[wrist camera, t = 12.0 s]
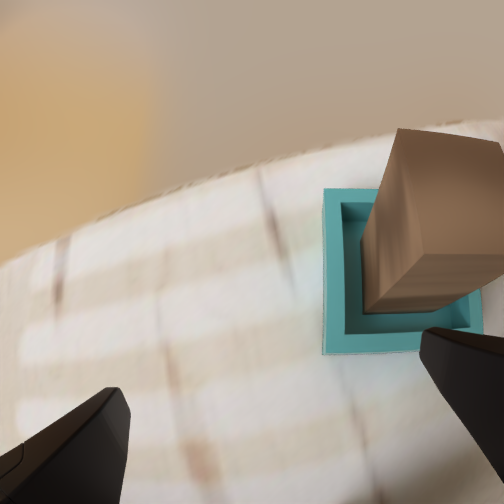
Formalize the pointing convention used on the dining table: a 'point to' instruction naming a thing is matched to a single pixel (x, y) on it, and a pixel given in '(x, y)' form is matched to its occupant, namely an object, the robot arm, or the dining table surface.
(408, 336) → the teal tray
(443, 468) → the dining table surface
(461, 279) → the walnut post
